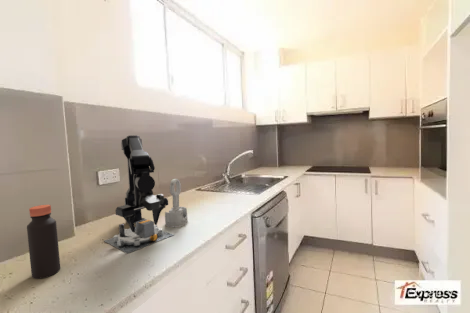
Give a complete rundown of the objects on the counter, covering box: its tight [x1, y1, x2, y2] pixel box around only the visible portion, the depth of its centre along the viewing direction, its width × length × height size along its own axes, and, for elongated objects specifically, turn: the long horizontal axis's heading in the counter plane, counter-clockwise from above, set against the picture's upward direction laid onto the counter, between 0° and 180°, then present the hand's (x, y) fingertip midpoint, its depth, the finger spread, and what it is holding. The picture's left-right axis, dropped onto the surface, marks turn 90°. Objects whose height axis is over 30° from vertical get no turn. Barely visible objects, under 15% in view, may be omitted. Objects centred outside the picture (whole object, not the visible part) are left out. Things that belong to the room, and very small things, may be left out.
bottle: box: [26, 204, 61, 280], centre depth 71 cm, size 7×7×20 cm
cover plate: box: [103, 230, 174, 254], centre depth 96 cm, size 19×19×1 cm
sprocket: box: [113, 223, 163, 246], centre depth 96 cm, size 18×18×6 cm
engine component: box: [164, 178, 189, 228], centre depth 112 cm, size 11×20×10 cm
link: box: [135, 218, 155, 238], centre depth 92 cm, size 6×4×5 cm, turn 51°
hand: (145, 228), depth 92 cm, fingers open, 9 cm apart
